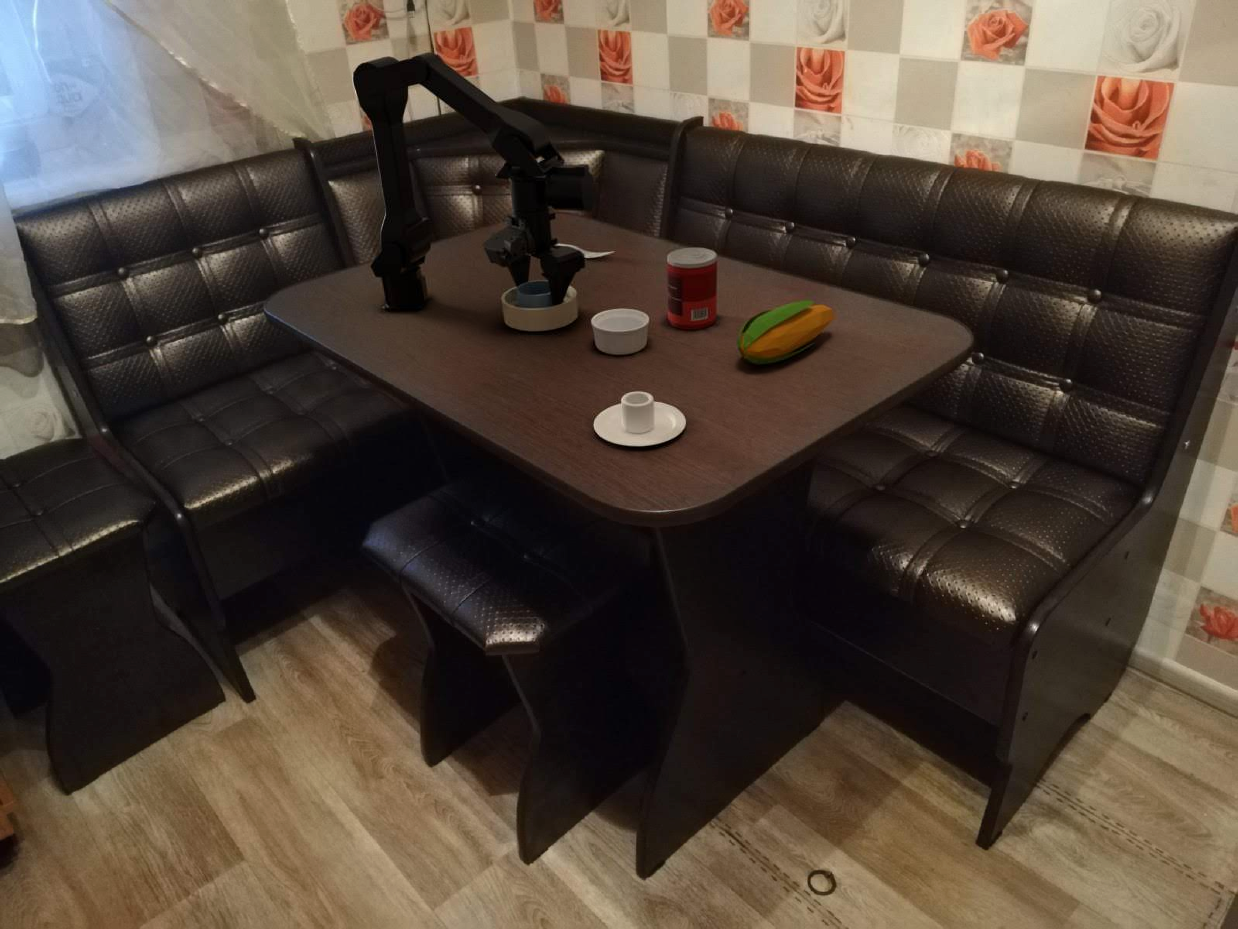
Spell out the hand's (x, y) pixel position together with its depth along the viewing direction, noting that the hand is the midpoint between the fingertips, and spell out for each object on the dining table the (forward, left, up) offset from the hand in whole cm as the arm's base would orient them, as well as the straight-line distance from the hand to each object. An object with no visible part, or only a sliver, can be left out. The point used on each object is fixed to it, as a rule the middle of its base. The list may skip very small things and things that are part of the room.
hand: (539, 301), depth 152 cm
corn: (+39, -14, -3) cm, 42 cm away
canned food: (+25, -2, -3) cm, 25 cm away
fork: (0, +35, -3) cm, 35 cm away
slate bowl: (0, 0, -3) cm, 3 cm away
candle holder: (+18, -37, -3) cm, 41 cm away
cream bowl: (0, 0, -3) cm, 3 cm away
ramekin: (+14, -11, -3) cm, 18 cm away
